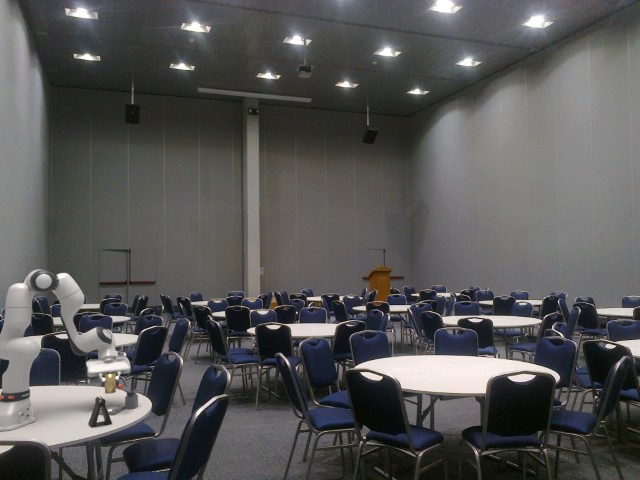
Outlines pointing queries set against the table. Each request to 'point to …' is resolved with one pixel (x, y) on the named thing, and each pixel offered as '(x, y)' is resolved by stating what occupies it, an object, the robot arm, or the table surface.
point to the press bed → (113, 410)
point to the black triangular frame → (95, 414)
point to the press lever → (125, 389)
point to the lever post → (131, 400)
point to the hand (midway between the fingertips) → (110, 381)
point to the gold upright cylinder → (110, 382)
